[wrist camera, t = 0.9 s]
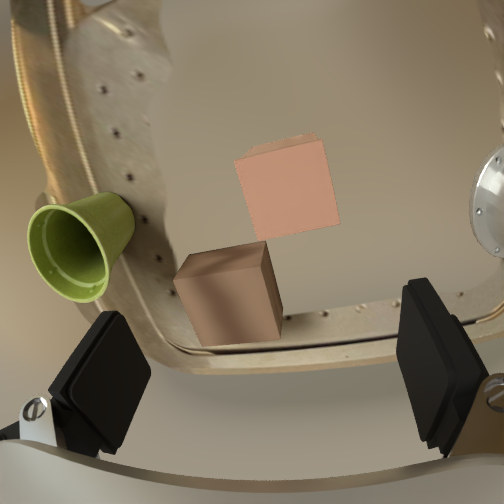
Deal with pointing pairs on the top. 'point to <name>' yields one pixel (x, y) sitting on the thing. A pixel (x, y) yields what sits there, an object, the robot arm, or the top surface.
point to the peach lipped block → (288, 186)
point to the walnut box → (231, 295)
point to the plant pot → (80, 244)
